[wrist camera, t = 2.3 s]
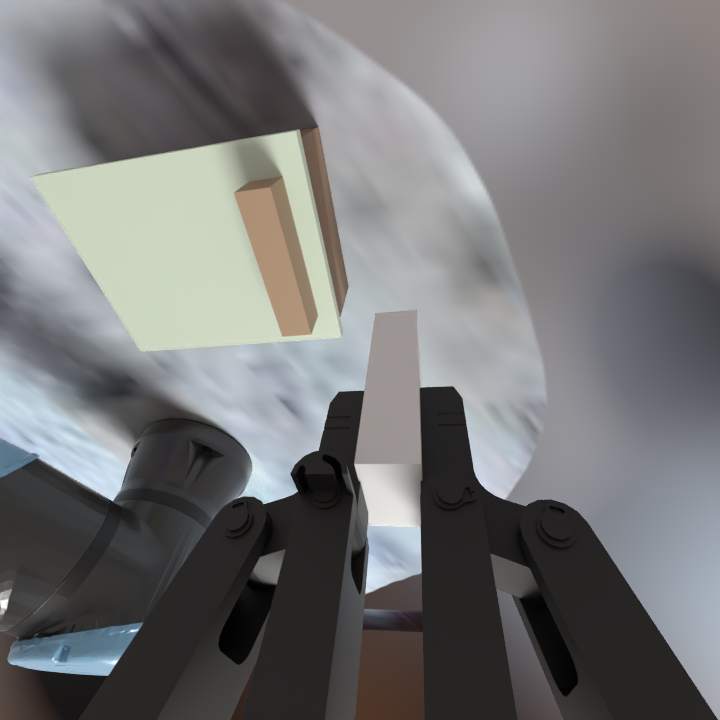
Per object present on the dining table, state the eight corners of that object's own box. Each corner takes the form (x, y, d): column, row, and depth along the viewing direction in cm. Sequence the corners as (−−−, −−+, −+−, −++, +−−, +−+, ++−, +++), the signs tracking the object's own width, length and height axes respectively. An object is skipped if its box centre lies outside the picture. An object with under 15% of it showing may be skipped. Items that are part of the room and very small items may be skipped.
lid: (146, 345, 30) (122, 370, 28) (40, 174, 22) (-6, 187, 20) (342, 331, 27) (336, 357, 25) (299, 128, 20) (283, 137, 17)
